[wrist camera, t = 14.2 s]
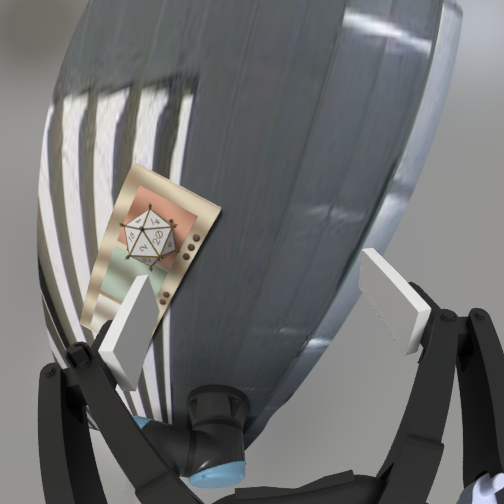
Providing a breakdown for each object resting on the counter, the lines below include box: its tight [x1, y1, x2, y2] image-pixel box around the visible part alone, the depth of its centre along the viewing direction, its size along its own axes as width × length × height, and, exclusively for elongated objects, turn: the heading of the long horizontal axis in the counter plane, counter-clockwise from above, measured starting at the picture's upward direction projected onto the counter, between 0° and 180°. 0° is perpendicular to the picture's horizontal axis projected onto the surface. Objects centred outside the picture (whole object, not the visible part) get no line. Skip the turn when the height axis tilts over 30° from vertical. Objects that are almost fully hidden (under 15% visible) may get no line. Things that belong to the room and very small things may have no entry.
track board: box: [80, 162, 221, 335], centre depth 45 cm, size 35×15×1 cm, turn 149°
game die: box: [119, 203, 180, 272], centre depth 37 cm, size 9×8×10 cm
